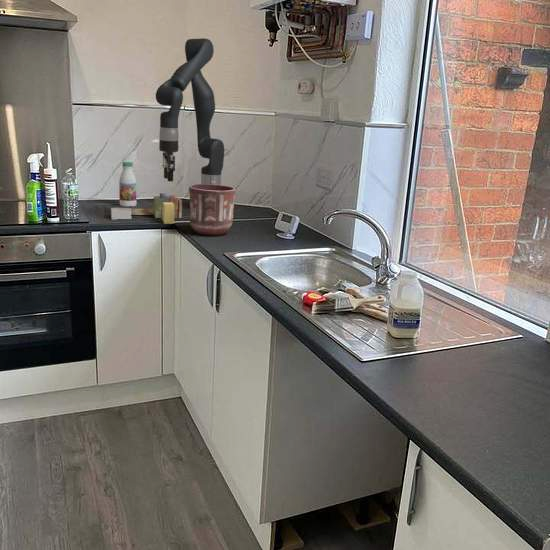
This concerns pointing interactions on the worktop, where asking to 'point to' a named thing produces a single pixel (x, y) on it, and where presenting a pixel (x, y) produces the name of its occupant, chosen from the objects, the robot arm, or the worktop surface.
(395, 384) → the worktop surface
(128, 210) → the off-white matte block
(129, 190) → the milk bottle
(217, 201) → the pottery
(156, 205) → the row of books
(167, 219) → the butter yellow brick
